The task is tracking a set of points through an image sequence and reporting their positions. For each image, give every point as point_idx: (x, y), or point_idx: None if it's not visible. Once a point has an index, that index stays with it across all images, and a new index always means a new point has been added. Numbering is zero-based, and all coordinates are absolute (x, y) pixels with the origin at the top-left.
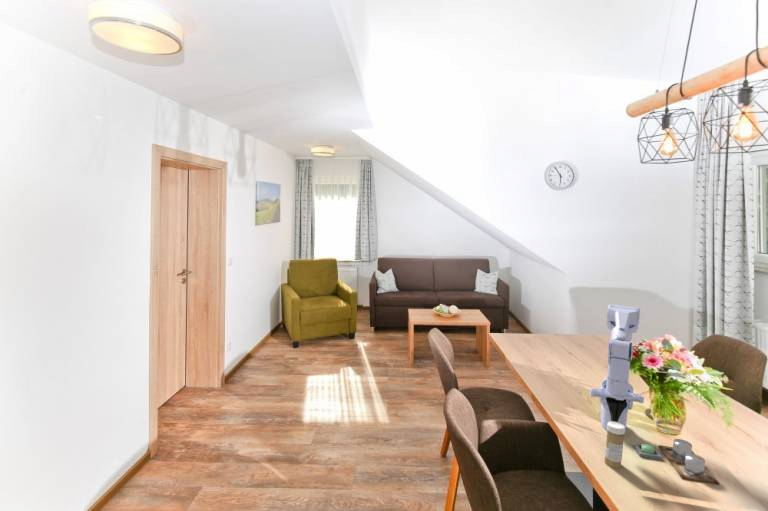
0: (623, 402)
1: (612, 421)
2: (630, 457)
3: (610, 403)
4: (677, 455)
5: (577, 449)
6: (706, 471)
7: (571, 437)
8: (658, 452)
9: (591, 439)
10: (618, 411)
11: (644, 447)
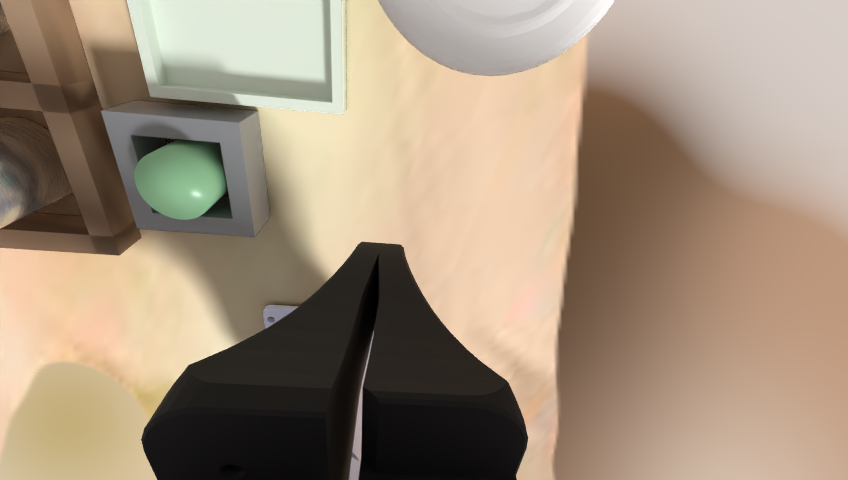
0: (222, 457)
1: (514, 56)
2: (298, 144)
3: (500, 397)
4: (8, 148)
5: (571, 164)
6: None
7: (548, 271)
8: (122, 161)
9: (452, 273)
10: (343, 313)
11: (196, 171)
